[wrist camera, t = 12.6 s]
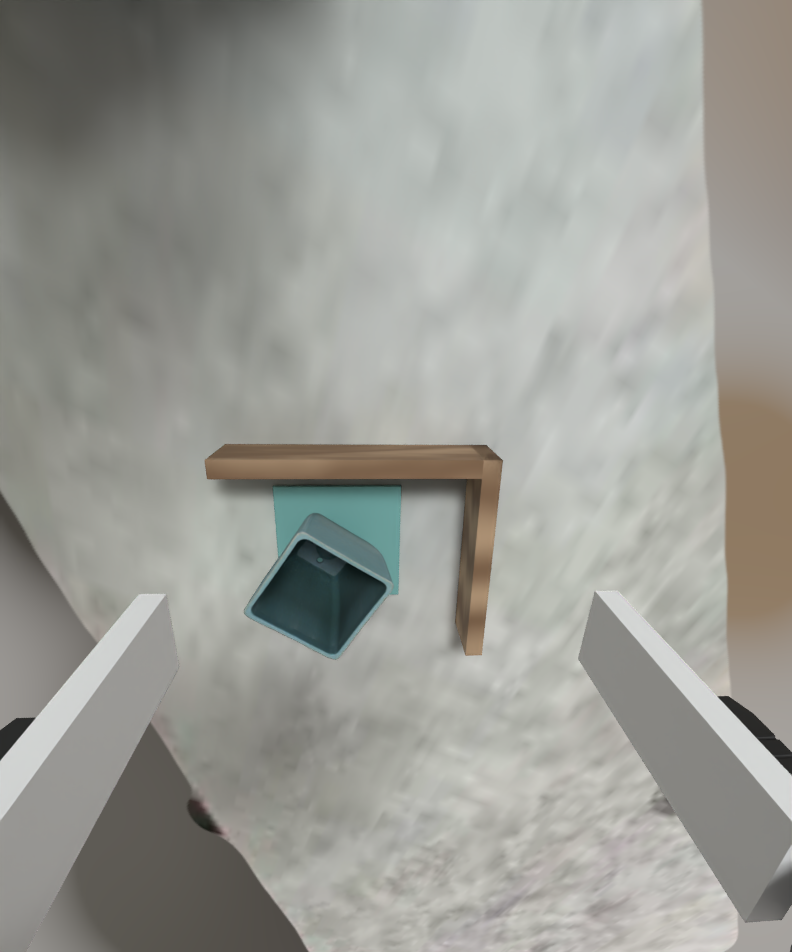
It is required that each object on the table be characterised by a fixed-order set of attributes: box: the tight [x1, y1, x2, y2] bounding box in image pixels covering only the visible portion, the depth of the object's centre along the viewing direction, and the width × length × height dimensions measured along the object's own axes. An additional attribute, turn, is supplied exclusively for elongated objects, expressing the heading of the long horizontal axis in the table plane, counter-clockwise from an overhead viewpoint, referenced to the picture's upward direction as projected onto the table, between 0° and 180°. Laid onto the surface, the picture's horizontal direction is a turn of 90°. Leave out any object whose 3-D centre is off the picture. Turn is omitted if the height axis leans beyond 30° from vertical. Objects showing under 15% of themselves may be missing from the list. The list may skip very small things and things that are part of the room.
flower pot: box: [244, 513, 394, 660], centre depth 37 cm, size 9×9×9 cm
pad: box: [273, 485, 401, 595], centre depth 41 cm, size 12×12×1 cm
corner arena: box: [205, 444, 503, 656], centre depth 39 cm, size 20×24×5 cm
